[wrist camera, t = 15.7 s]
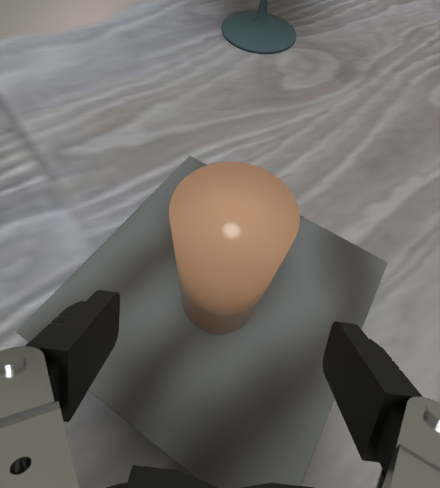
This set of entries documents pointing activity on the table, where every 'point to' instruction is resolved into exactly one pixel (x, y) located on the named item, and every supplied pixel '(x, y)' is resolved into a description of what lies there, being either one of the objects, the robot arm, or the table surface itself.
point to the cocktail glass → (259, 31)
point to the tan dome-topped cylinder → (229, 241)
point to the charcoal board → (221, 348)
